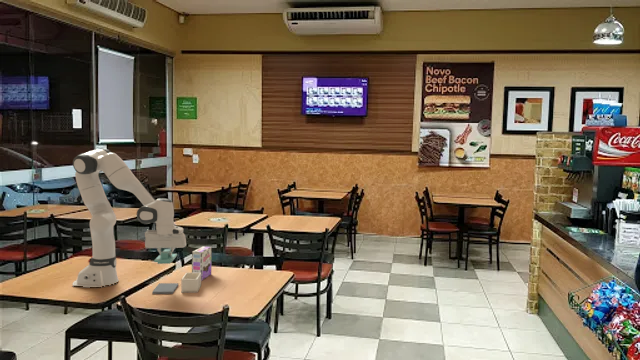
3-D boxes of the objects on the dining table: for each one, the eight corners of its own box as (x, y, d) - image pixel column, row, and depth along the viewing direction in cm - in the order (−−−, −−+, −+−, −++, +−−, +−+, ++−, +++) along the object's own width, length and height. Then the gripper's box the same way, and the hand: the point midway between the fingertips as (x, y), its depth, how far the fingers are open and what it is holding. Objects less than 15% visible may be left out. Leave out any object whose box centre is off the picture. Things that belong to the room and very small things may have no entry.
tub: (181, 292, 245) (181, 279, 245) (185, 285, 257) (185, 272, 257) (197, 292, 246) (197, 279, 245) (201, 285, 258) (201, 272, 257)
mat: (152, 294, 242) (152, 291, 242) (159, 285, 256) (159, 283, 256) (172, 294, 243) (172, 291, 243) (178, 285, 257) (178, 283, 257)
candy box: (201, 281, 265) (201, 252, 264) (191, 280, 266) (191, 251, 265) (211, 274, 279) (211, 246, 277) (202, 273, 280) (202, 245, 278)
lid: (154, 264, 242) (154, 254, 241) (160, 258, 254) (160, 248, 254) (171, 264, 242) (171, 254, 242) (177, 257, 255) (177, 248, 254)
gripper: (142, 231, 243) (143, 258, 244) (184, 230, 244) (184, 257, 246) (146, 228, 249) (147, 254, 250) (186, 228, 251) (187, 254, 252)
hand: (166, 256), depth 248 cm, fingers closed on lid, 3 cm apart
